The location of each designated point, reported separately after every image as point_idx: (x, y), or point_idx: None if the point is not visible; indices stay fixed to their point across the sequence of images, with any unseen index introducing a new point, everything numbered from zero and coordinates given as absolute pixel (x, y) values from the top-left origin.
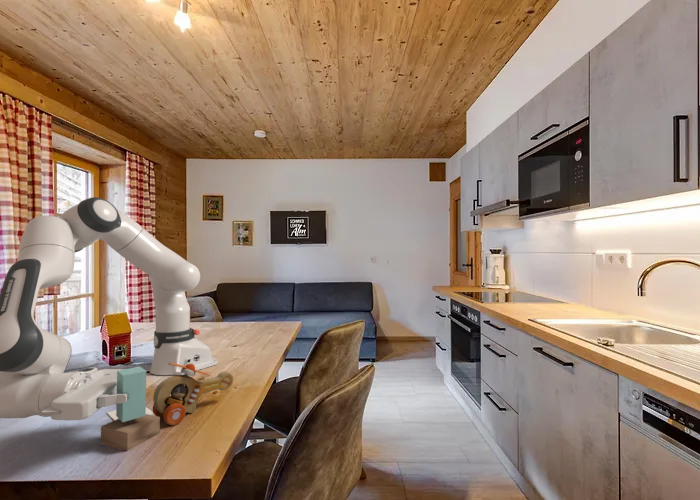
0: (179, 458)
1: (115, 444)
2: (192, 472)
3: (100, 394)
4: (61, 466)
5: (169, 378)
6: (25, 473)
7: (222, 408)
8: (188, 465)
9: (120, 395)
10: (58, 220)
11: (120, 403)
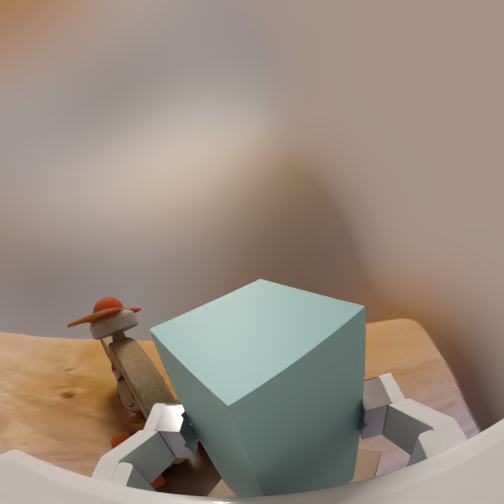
0: (383, 366)
1: None
2: (413, 333)
3: (460, 443)
4: None
5: (130, 360)
6: None
7: (161, 375)
8: (399, 345)
9: (398, 387)
10: None
11: (331, 469)
